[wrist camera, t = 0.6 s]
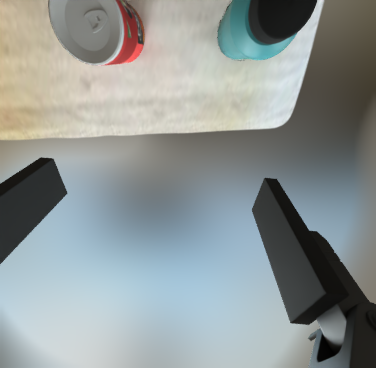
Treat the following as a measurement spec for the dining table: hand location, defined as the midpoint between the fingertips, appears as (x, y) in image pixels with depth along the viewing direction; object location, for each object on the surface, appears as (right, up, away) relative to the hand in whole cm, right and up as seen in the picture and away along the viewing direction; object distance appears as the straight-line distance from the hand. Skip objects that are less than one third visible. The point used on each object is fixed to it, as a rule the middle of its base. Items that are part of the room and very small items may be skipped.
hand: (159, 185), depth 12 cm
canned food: (-9, +24, +17) cm, 31 cm away
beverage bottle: (+9, +23, +16) cm, 30 cm away
